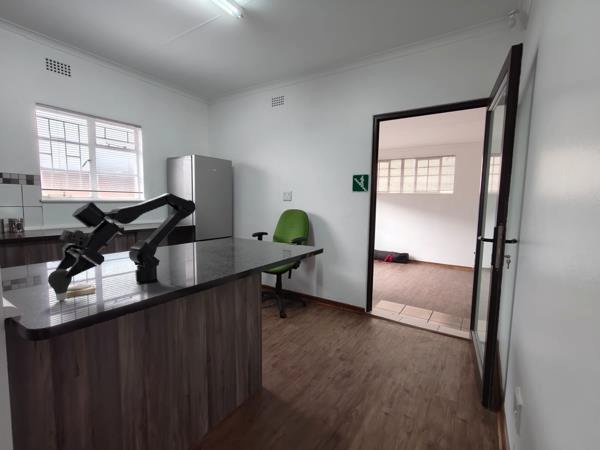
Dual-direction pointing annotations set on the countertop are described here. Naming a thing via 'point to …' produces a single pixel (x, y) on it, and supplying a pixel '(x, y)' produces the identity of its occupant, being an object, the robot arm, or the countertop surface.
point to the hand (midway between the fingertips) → (60, 275)
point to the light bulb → (59, 283)
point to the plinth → (80, 289)
